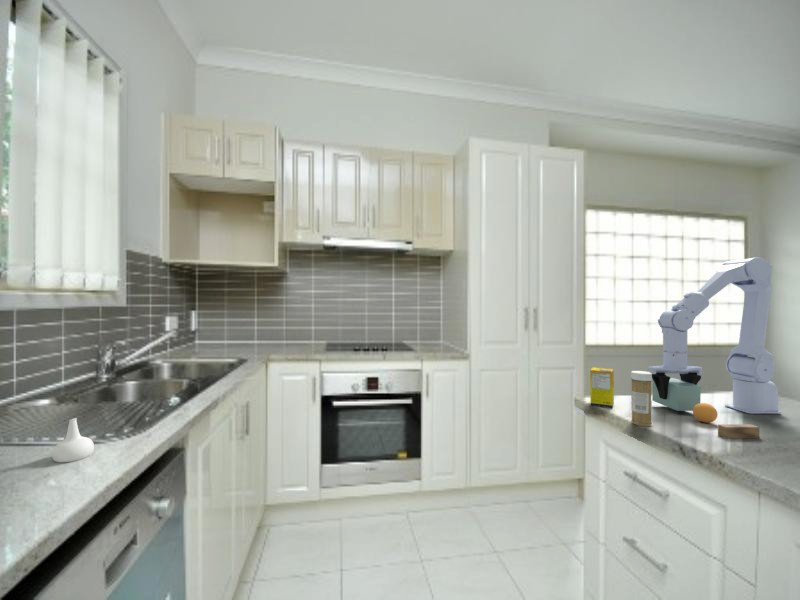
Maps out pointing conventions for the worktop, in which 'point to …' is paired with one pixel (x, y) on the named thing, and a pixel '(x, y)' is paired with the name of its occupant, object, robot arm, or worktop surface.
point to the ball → (705, 412)
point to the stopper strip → (738, 431)
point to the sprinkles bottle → (641, 398)
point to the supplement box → (602, 387)
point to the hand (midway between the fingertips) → (675, 398)
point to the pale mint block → (679, 395)
